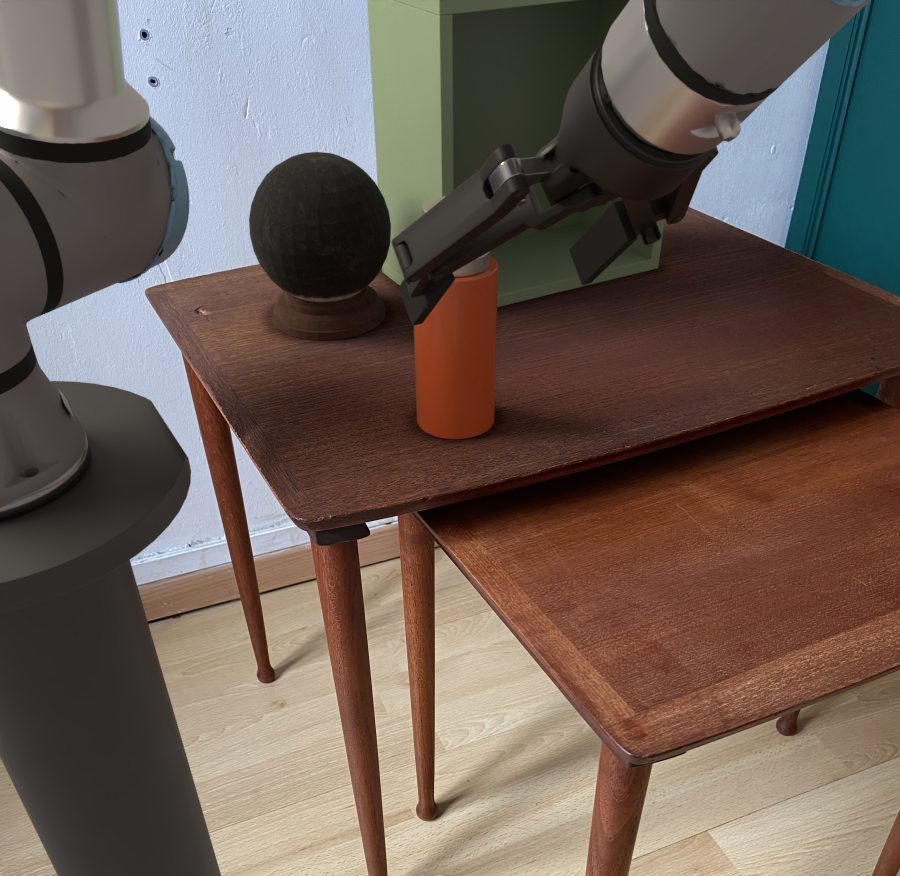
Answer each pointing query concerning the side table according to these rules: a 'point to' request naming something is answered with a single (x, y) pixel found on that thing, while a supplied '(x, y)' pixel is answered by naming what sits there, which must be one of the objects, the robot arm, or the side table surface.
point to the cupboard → (485, 117)
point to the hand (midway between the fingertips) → (498, 285)
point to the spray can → (459, 353)
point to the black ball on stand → (321, 245)
